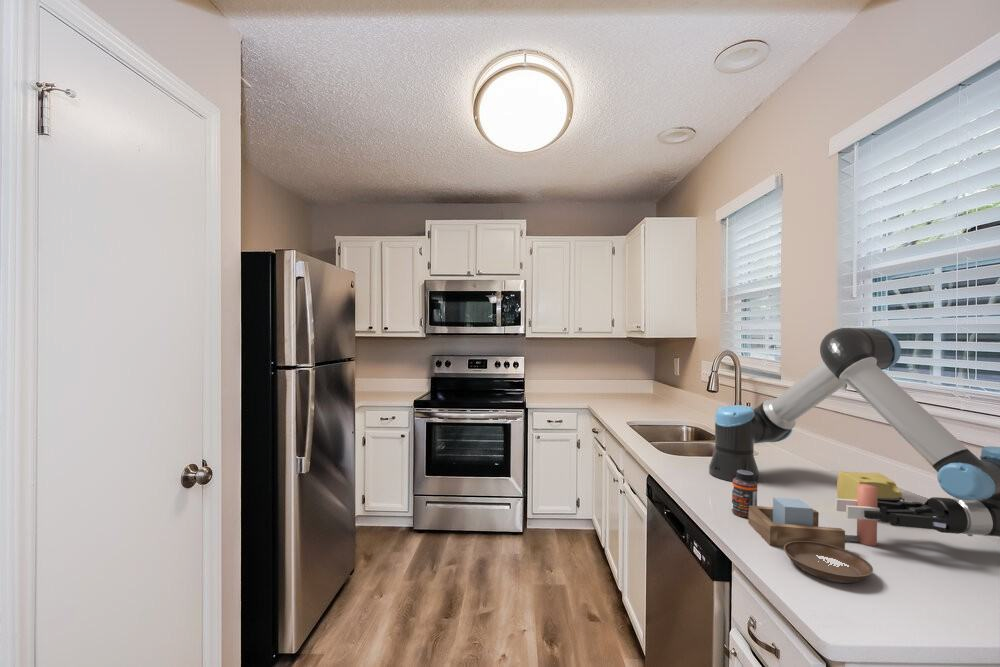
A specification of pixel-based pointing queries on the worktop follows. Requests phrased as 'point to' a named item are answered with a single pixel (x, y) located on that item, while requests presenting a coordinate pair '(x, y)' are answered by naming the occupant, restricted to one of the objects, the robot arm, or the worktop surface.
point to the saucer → (808, 562)
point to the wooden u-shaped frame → (792, 529)
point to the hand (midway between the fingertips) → (841, 508)
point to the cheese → (850, 481)
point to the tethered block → (803, 514)
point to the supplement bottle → (743, 493)
